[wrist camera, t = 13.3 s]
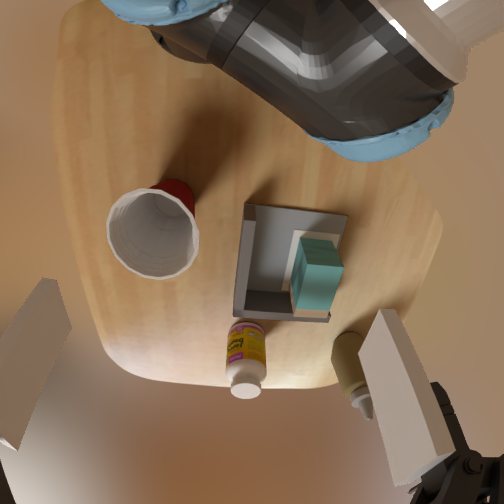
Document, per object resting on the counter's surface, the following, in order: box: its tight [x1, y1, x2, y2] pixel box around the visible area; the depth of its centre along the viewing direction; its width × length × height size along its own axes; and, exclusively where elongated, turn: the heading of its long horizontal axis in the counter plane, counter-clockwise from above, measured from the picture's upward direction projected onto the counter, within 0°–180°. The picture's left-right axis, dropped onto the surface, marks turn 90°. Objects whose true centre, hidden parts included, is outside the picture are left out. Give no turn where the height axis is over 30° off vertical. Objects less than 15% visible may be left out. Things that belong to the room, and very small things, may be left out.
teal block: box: [289, 237, 344, 318], centre depth 45 cm, size 9×5×7 cm, turn 173°
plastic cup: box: [106, 179, 199, 280], centre depth 37 cm, size 11×11×12 cm
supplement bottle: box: [226, 322, 267, 399], centre depth 51 cm, size 7×7×13 cm
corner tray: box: [233, 203, 348, 323], centre depth 46 cm, size 16×15×5 cm
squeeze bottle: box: [331, 332, 373, 421], centre depth 51 cm, size 8×8×18 cm
